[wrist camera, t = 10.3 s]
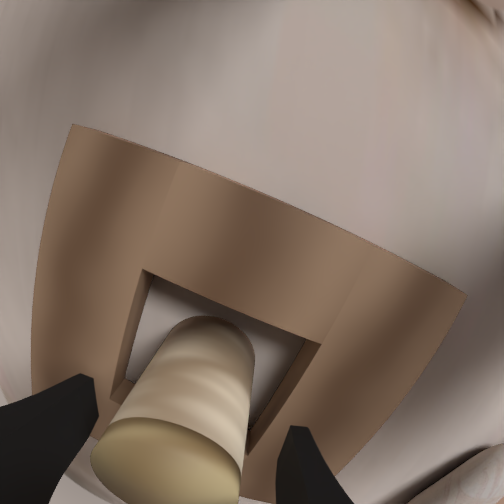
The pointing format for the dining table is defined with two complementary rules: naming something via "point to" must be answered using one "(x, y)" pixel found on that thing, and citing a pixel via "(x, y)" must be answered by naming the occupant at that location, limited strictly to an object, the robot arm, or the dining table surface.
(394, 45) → the dining table surface
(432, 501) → the decorative stone
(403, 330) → the carrier board
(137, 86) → the dining table surface
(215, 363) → the beige wooden cylinder
